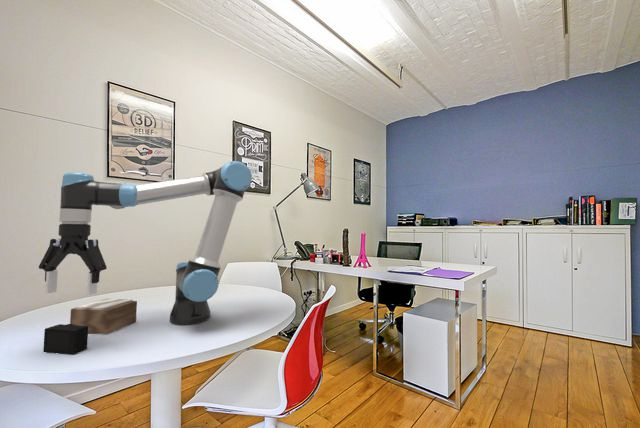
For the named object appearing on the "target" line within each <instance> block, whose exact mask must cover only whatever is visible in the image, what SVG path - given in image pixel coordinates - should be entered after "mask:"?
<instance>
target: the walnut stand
mask: <svg viewBox="0 0 640 428" xmlns="http://www.w3.org/2000/svg"><path fill="white" fill-rule="evenodd" d="M137 305H138V301H137V300H133V299H128V298H127V299H123V298H104V299H101V300H97V301H94V302H91V303H86V304H84V305H79V306H76V307H73V308H71V309H70V317H69V318H70V319H69V324H73V325H78V326H88V334H93V335H94V334H95V335H108V334H111V333H113V332H115V331H118V330H120V329H122V328H125V327H127V326H129V325H132V324H134V323H136V322H137V309H138V306H137Z"/></svg>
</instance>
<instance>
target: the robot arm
mask: <svg viewBox="0 0 640 428" xmlns="http://www.w3.org/2000/svg"><path fill="white" fill-rule="evenodd" d="M252 179H253V176H252V171H251V169H249V167H248V166H247V165H246V164H245V163H244V162H241V161H237V160H233V161H228V162H226V163H224V165H222V166H221V167H219V168H218V169H215V170H213V171H209V172H203V173H202V174H201V175H200V176H199V175H198V176H192V177H184V178H177V179H169V180H162V181H156V182H155V181H154V182H148V183H147V182H146V183H142V184H141V183H140V184H128V183H126V182H125V183H118V182H117V183H116V182H106V181H105V182H104V181H97V180H95V178H94V175H92V174H89V173H84V172H83V173H82V172H73V171H72V172H71V171H70V172H66V173H64V174H63V176H62V179H61V180H62V181H61V185H60V207H59V217H58V218H59V219H58V221H59V222H60V223H59V224H58V236H59V237H60V238H51V239H50V241H49V245H48V247H47V250H46V251H45V253H44V256H43V258H42V259H41V261H40V263H39V265H38V269H39V270H44V272H45V273H44V282H45V292H44V294H52V293H57V287H58V272H59V270H58V269H57V268H58V266H59V265H60V264H61V263H62V261H63V260H65V258H66V257H67V256H69V254H71V255H77V256H79V257H80V258H81V260H82V261H83V263H84V264H85V266H86V267H87V269H88V270H89V272H88V273H87V280H86V281H87V282H86V284H87V286H86V296H92V295H95V294H97V293H98V283H99V282H100V273H101V272H102V271H105V270H107V265H106V262H105V260H104V258H103V257H104V256H103V254H102V252H101V249H100V247H99V240H98V239H95V238H94V239H89V237H90V236H91V228H92V227H91V226H92V225H91V224H90V223H91V222H92V209H93V206H105V207H106V206H108V207H110V208H113V209H115V210H120V209H125V208H129V207H136V206H140V205H145V204H152V203H159V202H164V201H169V200H175V199H181V198H188V197H192V196H193V197H195V196H200V195H207V196H213V195H214V199H213V202H212V205H211V207H210V211H209V214H208V217H207V219H206V221H205V225H204V228H203V232H202V234H201V237H200V240H199V242H198V245H197V249H196V252H195V255H194V256H193V257H191V258H189V259H188V261H185V262H179V263H177V265H176V270H175V273H176V275H175V276H176V277H175V301H174V303H173V307H172V308H171V312H170V314H169V323H170V324H173V325H181V326H182V325H183V326H185V325H195V324H200V323H203V322H206V321H208V320H210V319H211V309H210V307H209V302H208V300H209V299H211V298H213V296H214V295H215V294H216V293H217V291H218V289H219V274H220V270H221V269H222V268H221V267H222V266H221V265H220V263H219V261H220V257H221V255H222V251H223V248H224V244H225V241H226V238H227V234H228V232H229V228H230V226H231V224H232V220H233V217H234V213H235V211H236V207H237V204H238V203H239V202H241V201H243V198H244V196H245V192H246V190H247V189H248V188H249V187H250V185H251V183H252V182H253V181H252ZM209 318H210V319H209Z"/></svg>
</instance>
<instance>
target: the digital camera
mask: <svg viewBox="0 0 640 428" xmlns="http://www.w3.org/2000/svg"><path fill="white" fill-rule="evenodd" d="M88 337H89V333H88V326H78V325H73V324H70V323H68V324H63V323H61V324H60V323H59V324H56V325H53V326H50V327H45V328H44V334H43V350H42V351H43V353H44V352H46V353H47V354H56V353H58V354H57V355H70V356H71V355H72V356H74V355H78V354H79V353H82V352H83V351H86V350H88ZM46 353H45V354H46Z"/></svg>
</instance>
